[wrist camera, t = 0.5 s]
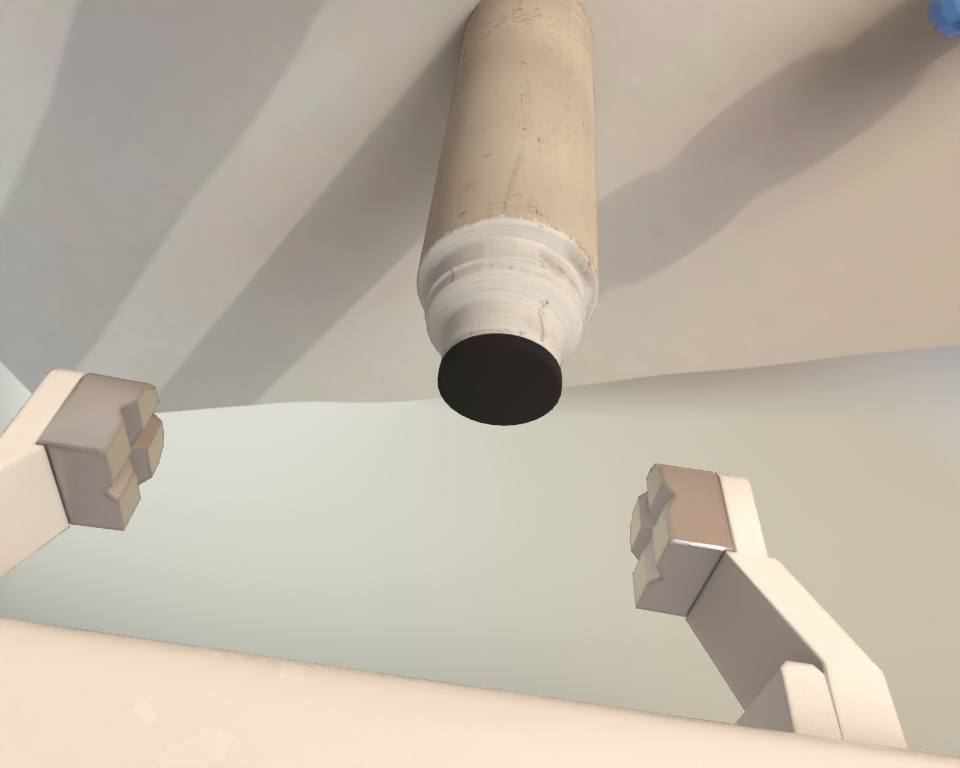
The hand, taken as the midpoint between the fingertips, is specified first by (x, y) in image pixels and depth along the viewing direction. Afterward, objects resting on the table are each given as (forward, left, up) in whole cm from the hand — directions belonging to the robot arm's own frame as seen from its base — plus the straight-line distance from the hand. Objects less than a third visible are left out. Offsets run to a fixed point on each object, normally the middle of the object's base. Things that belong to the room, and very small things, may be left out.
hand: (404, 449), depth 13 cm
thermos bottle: (+13, +4, -41) cm, 43 cm away
